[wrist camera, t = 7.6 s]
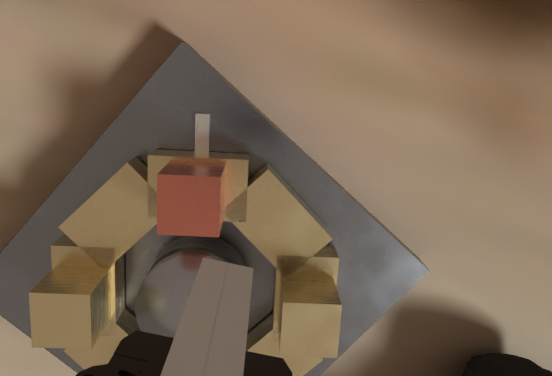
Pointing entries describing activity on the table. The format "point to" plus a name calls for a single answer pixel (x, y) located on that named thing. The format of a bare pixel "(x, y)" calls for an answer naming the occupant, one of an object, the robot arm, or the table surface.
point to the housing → (232, 242)
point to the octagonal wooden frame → (189, 222)
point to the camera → (503, 366)
